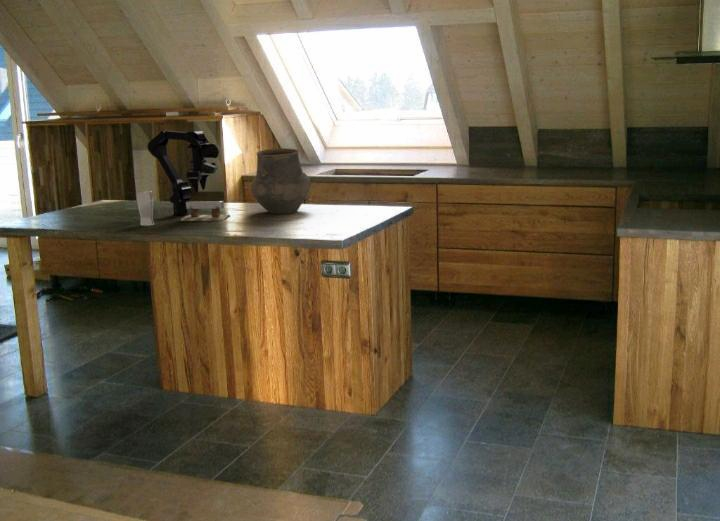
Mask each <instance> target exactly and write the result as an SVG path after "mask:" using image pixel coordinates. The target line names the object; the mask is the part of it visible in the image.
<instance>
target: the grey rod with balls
mask: <svg viewBox="0 0 720 521" xmlns="http://www.w3.org/2000/svg"><path fill="white" fill-rule="evenodd" d="M224 202H225V201H224V200H216V201H214V200H213V201H211V200H210V201H207V200H206V201H203V200H201V201H198V200H197V201H195V200H194V201H192V200H190V201H187V202H186V209H189V210H191V209H199V210H202V209H203V210H205V209H206V210H211V209H220V210H222V209H224V208H225V203H224Z"/></svg>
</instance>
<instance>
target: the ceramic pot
mask: <svg viewBox="0 0 720 521" xmlns="http://www.w3.org/2000/svg"><path fill="white" fill-rule="evenodd" d="M299 154H300V153H299V150H298V149H294V148H268V149H263V150H259V151H257V152H256V157H257V158H256V172H255V173H256V174H255V178H254V179H253V180H252V182H251V184H250V190H251V194H252V197H253V198H254V199H255V200H256V201H257V203H258V205H260V206H261V207H262V208H263V209H264V210H265V211H267V212H268V213H269V214H271V215H287V214H288V215H289V214H294V213H297V211H298V210H299V209H300V207H301V206H302V204H303V203H304V201H305V199H306V198H307V195H308V193H309V192H310V188H311V179H310V177H309V176H308V175H307V174H306V172H304V171H303V169H302V165H301V163H300V158H299Z"/></svg>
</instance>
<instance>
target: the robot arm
mask: <svg viewBox="0 0 720 521" xmlns="http://www.w3.org/2000/svg"><path fill="white" fill-rule="evenodd" d="M170 140H178V141H185V142H186V143H188V144H189V145H188V146H187V147H186V148H187V149H191V150H190V151H191V159H190V163H191V165H192V167H191V169H190V170H189V171H187V172H186V174H185V178H187V180H188V181H189V182H188V181H187V180H186V181H185V180H182V178H181V177H180V175H179V173H178V172H177V170H176V168H175V165H174V164H173V163H172V161H171V159H170V157H169V155H168V148H167V146H168V144H169V142H170ZM147 150H148V151H149V153H150V154H151V155H152V156H153V157H154V158H155V159H157V160H158V162H159V164H160V166H161V167H162V169H163V171H164V173H165V174H166V176H167V178H168V179H169V182H170V184H171V191H172V195H171V196H170V197H169V202H170V204H172V205H173V206H172V209H173V214H172V216H188V215H190V214H191V211H190V209H186V202H189V201H191V200H190V199H191V196H192V194H193V193H192V192H193V191H192V188H193V190H194V192H195V193H198V192H199V188H200V187H201V190H204V191H205V189H206V186H207V181H208V178H209V177H210V176H211V174H215V173H217V172H216V171H217V170H218V165H217V162H214V161H212V162H211V163H208V162H207V159H217V158H218V157H219V154H220V151H219V148H218V147H217V145H216V143H213V142H212V143H210V141H209V140H208V138H207V137H206V135H205V132H204V131H202V130H193V131H177V130H176V131H175V130H168V129H165V130H164V129H163V130H161V131H159V133H158V134H157V135H156V136H154V137H153V138H152V139H151V140H149V141H148V143H147ZM189 183H190V184H189ZM190 185H191V186H192V187H191V186H190ZM199 185H200V187H199Z"/></svg>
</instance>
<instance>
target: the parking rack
mask: <svg viewBox="0 0 720 521" xmlns="http://www.w3.org/2000/svg"><path fill="white" fill-rule="evenodd" d="M210 210H211V211H210V212H211V214H200V209H190V214H187V215H185V216H184V217H182V218H180V221H182V222H194V221H195V222H196V221H197V222H207V221H208V222H209V221H210V222H215V221H216V222H217V221H218V222H219V221H220V222H221V221H222V222H223V221H225V220H227V219H229V218H231V214H221V212H220V210H221V209H210Z"/></svg>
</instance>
